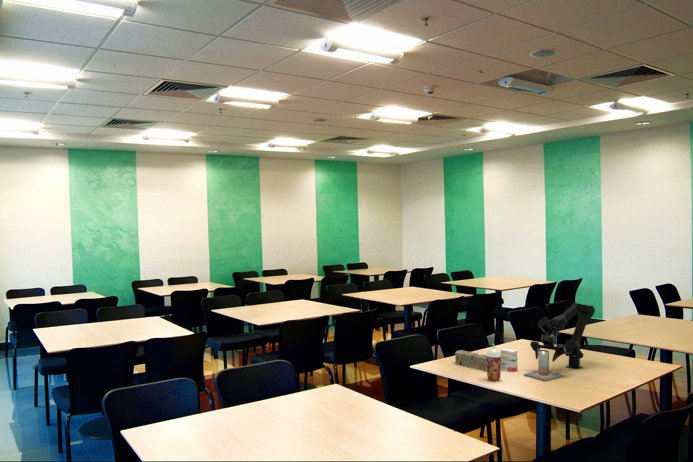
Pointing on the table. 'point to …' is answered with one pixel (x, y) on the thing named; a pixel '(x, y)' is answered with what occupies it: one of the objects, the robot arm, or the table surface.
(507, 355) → the ink box
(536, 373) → the rubber mat
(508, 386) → the table surface
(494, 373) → the smoothie
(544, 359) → the steel sleeve
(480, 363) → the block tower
